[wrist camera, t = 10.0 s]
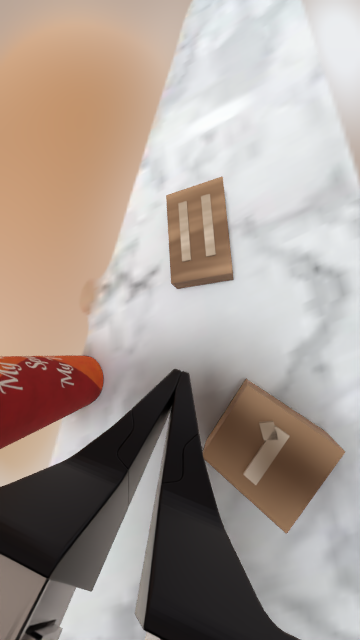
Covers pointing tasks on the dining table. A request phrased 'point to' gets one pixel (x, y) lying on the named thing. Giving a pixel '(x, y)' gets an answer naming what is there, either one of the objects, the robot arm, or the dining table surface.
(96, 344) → the dining table surface
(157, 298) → the dining table surface
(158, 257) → the dining table surface
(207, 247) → the wooden block
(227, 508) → the dining table surface
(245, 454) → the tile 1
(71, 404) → the coffee cup
